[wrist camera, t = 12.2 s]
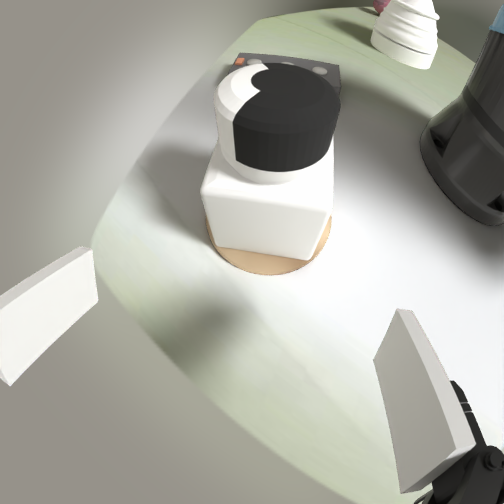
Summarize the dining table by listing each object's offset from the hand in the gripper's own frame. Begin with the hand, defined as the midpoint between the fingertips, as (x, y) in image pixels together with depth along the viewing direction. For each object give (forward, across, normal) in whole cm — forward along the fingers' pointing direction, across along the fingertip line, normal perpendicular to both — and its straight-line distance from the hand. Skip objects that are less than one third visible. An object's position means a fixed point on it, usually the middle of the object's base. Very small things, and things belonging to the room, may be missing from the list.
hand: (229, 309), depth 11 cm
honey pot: (+44, +19, +32) cm, 58 cm away
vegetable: (+64, +20, +51) cm, 84 cm away
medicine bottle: (+13, 0, +1) cm, 13 cm away
